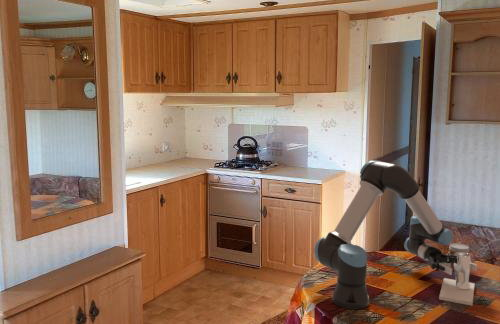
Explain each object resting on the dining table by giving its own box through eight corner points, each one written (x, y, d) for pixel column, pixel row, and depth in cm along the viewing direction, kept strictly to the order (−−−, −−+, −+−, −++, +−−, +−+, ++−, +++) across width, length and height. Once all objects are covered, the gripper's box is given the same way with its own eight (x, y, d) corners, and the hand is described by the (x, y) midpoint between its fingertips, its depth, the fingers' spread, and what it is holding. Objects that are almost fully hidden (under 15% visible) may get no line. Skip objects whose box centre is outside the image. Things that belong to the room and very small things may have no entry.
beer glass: (472, 290, 206) (472, 256, 205) (456, 290, 208) (455, 257, 206) (468, 284, 213) (468, 252, 212) (452, 284, 214) (451, 252, 213)
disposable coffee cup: (469, 268, 238) (471, 245, 236) (466, 274, 230) (468, 250, 228) (449, 264, 243) (450, 241, 241) (445, 270, 235) (447, 247, 233)
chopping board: (472, 305, 196) (472, 302, 196) (438, 299, 202) (439, 296, 202) (474, 286, 215) (474, 283, 215) (443, 281, 221) (443, 278, 221)
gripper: (450, 258, 229) (485, 274, 209) (407, 264, 221) (439, 281, 201) (451, 243, 228) (487, 258, 208) (408, 248, 220) (441, 265, 200)
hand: (463, 270), depth 204 cm, fingers open, 13 cm apart
